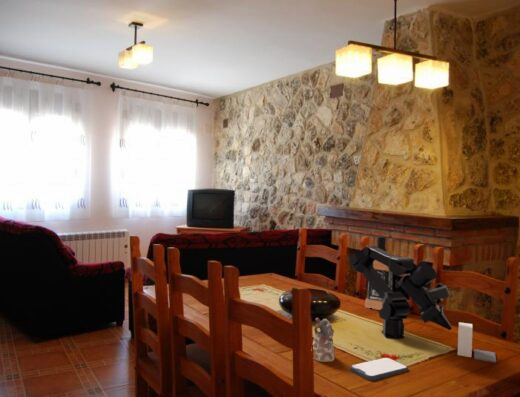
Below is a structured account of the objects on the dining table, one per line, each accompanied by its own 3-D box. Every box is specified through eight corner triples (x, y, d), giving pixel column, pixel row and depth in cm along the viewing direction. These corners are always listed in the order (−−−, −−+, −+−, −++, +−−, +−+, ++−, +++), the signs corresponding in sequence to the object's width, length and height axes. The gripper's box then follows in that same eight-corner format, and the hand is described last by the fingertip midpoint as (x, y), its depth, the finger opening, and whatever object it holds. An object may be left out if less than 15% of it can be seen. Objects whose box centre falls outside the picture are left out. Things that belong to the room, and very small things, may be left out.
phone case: (386, 361, 131) (347, 370, 123) (386, 356, 131) (348, 365, 123) (410, 372, 123) (370, 383, 115) (410, 367, 123) (370, 377, 115)
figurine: (329, 363, 126) (330, 323, 126) (307, 358, 130) (308, 319, 130) (338, 356, 132) (339, 318, 132) (317, 351, 136) (318, 314, 136)
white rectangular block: (457, 354, 137) (458, 327, 136) (458, 349, 142) (458, 322, 142) (471, 357, 135) (472, 329, 135) (471, 351, 140) (472, 324, 140)
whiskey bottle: (393, 307, 193) (396, 236, 193) (387, 311, 185) (389, 238, 184) (371, 303, 199) (373, 234, 198) (364, 307, 190) (366, 236, 190)
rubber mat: (474, 358, 134) (474, 357, 134) (474, 350, 141) (474, 349, 141) (496, 362, 131) (496, 361, 131) (494, 354, 138) (494, 352, 138)
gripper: (432, 281, 134) (470, 322, 129) (437, 272, 151) (470, 307, 146) (405, 302, 137) (441, 343, 133) (412, 291, 154) (444, 326, 150)
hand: (450, 329), depth 140 cm, fingers closed
